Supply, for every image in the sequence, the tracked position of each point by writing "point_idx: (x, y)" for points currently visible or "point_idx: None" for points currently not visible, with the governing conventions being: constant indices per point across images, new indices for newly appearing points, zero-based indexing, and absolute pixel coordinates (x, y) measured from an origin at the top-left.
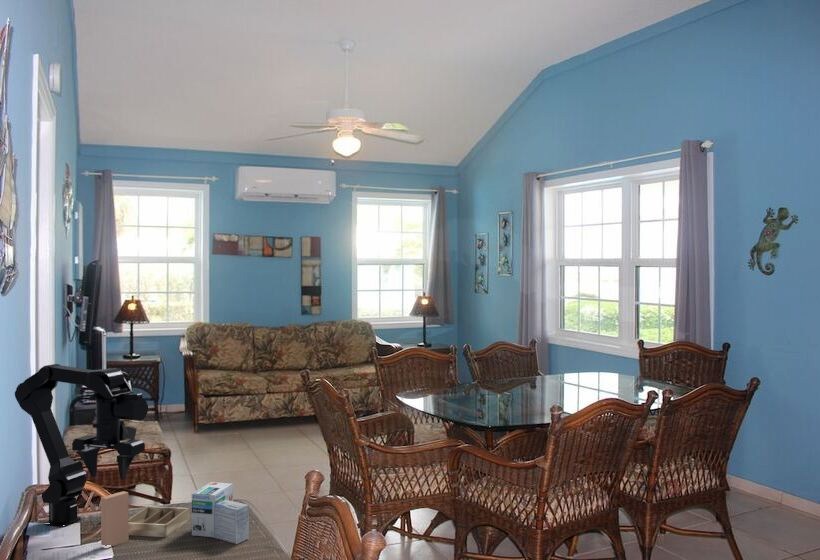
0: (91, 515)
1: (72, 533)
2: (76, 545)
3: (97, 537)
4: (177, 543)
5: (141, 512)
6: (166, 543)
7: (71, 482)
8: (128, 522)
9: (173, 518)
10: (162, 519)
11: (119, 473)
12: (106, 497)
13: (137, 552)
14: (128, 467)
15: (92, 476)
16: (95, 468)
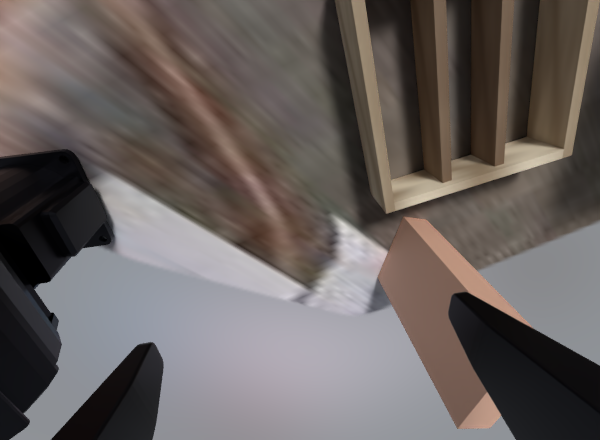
0: (47, 84)
1: (205, 254)
2: (304, 298)
3: (311, 241)
4: (586, 167)
5: (373, 64)
6: (551, 181)
7: (15, 373)
8: (460, 254)
9: (575, 76)
10: (506, 79)
11: (486, 388)
12: (483, 420)
13: (495, 258)
14: (590, 375)
15: (158, 372)
16: (125, 419)
